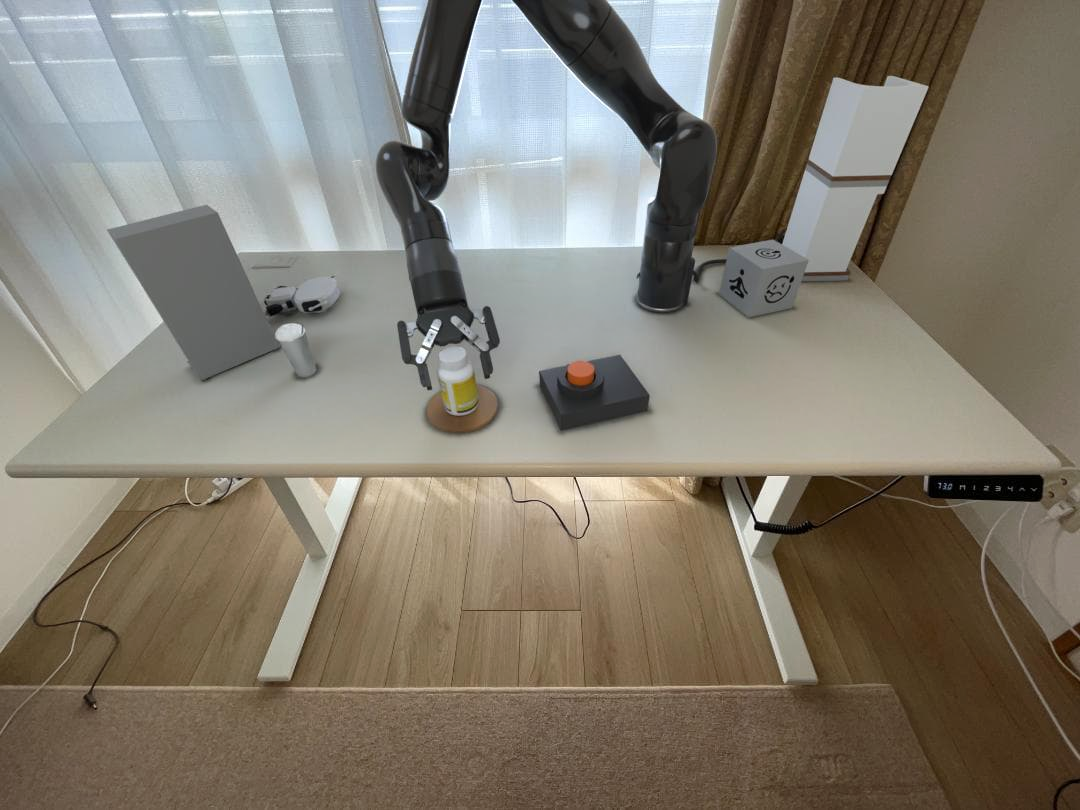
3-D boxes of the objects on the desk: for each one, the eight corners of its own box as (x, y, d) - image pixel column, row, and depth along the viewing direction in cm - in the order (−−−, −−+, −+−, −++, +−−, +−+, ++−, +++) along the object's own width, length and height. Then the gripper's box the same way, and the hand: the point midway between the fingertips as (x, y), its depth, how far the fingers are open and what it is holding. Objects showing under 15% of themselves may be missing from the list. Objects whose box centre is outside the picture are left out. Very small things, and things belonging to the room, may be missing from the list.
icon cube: (759, 285, 104) (773, 239, 97) (791, 307, 96) (808, 260, 90) (718, 293, 101) (729, 247, 95) (748, 317, 94) (762, 269, 88)
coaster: (489, 381, 82) (489, 378, 81) (505, 424, 74) (504, 421, 73) (423, 394, 80) (423, 391, 79) (432, 440, 72) (431, 437, 71)
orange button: (588, 367, 76) (588, 358, 75) (597, 383, 73) (598, 373, 72) (563, 372, 75) (564, 363, 74) (572, 388, 72) (572, 379, 71)
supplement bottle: (484, 397, 78) (477, 346, 71) (470, 420, 74) (461, 368, 67) (454, 391, 79) (444, 340, 72) (438, 412, 75) (426, 361, 69)
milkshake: (315, 381, 83) (294, 331, 76) (287, 378, 84) (264, 328, 77) (329, 365, 86) (310, 316, 80) (302, 362, 87) (281, 313, 80)
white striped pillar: (847, 280, 104) (928, 86, 81) (796, 281, 104) (863, 88, 81) (824, 257, 113) (892, 75, 90) (777, 258, 113) (833, 77, 90)
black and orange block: (618, 369, 83) (621, 345, 80) (647, 410, 75) (651, 385, 72) (539, 386, 80) (538, 361, 77) (560, 430, 72) (560, 405, 69)
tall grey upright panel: (268, 335, 94) (205, 203, 78) (281, 348, 91) (218, 212, 74) (190, 367, 87) (104, 228, 71) (201, 381, 84) (113, 239, 67)
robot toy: (262, 330, 97) (337, 318, 98) (251, 310, 94) (328, 298, 95) (279, 299, 107) (347, 289, 107) (269, 280, 104) (339, 270, 104)
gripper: (383, 276, 67) (408, 390, 67) (484, 260, 70) (509, 370, 69) (390, 293, 75) (412, 396, 74) (481, 278, 78) (503, 378, 77)
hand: (459, 383), depth 72 cm, fingers open, 8 cm apart
